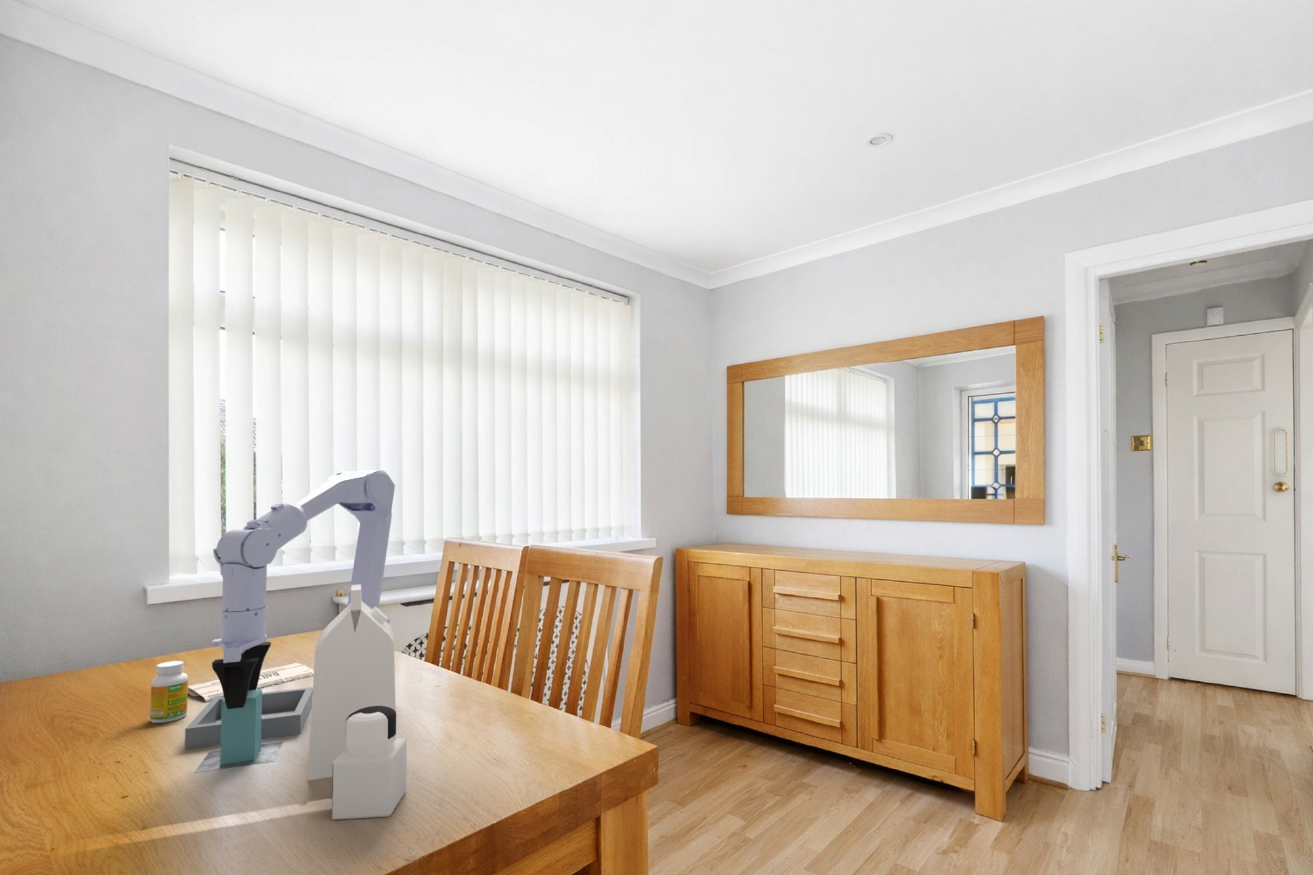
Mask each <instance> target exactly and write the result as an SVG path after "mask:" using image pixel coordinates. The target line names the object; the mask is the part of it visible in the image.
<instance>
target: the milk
mask: <svg viewBox="0 0 1313 875" xmlns="http://www.w3.org/2000/svg"><path fill="white" fill-rule="evenodd" d="M350 586H351V585H350ZM379 609H380V608H379ZM379 609H378V608H377V607H374V608H373V609H371V608H370V607H368V606H367V605H366V604H365V603H364V602H362V595H361V584H359V585H352V586H351V603H350V604H349V605H348V604H347V606H346V607H345V608H344V609H343V610H342V611H341V612H340V613H339V614H337V616H335V618H334V619H333V620H332V621H330V622H329V624H328V625H327V626H326V627H325V628H324V629H322V631H321V632H320V633H319V636H318V638H317V641H316V644H315V650H314V651H315V653H314V662H313V670H314V676H313V681H312V687H313V695H312V709H311V711H310V716H311V717H310V731H309V747H308V762H307V763H308V766H307V782H309V781H315V780H321V779H325V778H326V779H327V778H331V777H333V762H334V761H335V760H336V759H337V758H338V757H339V755H340V754H341V753H342V752H343V751H344V750H345V749H346V719H347V717H348V716H349V715H350V714H351V713H353V712H355V711H357V710H359V709H362V708H366V707H371V706H386V707H390V708H392V709H394V710H395V711H396V709H397V708H396V675H395V669H396V668H395V640H394V639H395V638H394V631H393V627H392V626H391V625H390V623H389V624H388V623H387V622H386V620H387V619H389V618H387V617H388V616H387V617H386V616H385V615H386V614H385V613H384V612H381V611H382V610H381V609H380V610H381V611H380V610H379ZM384 614H385V615H384ZM396 712H397V711H396Z"/></svg>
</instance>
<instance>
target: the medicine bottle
mask: <svg viewBox="0 0 1313 875" xmlns="http://www.w3.org/2000/svg"><path fill="white" fill-rule="evenodd" d="M331 788H332V789H331V790H332V791H331V792H332V793H331V818H332V820H333V821H335V820H336V821H337V820H354V819H371V818H387V817H388V818H389V817H391V815H392V814H393V812H394V810H395V809H396V807H397V806H398V804H399V803H400V801H401V800H402V798H403V796H404V795H405V793H406V791H407V738H405V737H401V738H400V737H399V738H398V737H397V711H395V710H394V709H392V708H390V707H386V706H371V707H366V708H362V709H359V710H357V711H355V712H353V713H351V714H350V715H349V716H348V717H347V719H346V749H345V750H344V751H343V752H342V753H341V754H340V755H339V757H338V758H337V759H336V760H335V761H334V762H333V777H332V787H331Z"/></svg>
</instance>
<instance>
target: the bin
mask: <svg viewBox="0 0 1313 875" xmlns="http://www.w3.org/2000/svg"><path fill="white" fill-rule="evenodd" d="M312 695H313V686H311V687H310V686H309V687H302V688H292V689H284V690H275V691H274V690H273V691H266V692H262V717H261V740H263V739H269V738H277V737H284V736H293V735H299V734H301V733H302V731H303V730H304V729H303V728H304V727H305V724H306V722H307V720H308V717H309V715H310V714H311V711H312ZM223 699H224V697H219V698H213V699H212V700H211V701H209V702H208V704H206V706H205V707H203V709H202V710H201V711H200V712H199V714H197V715H196V716H195V718H194V719H192V721H191V722H190V723H189V724H188V725H187V726H186V728H184V729H185V731H184V733H185V734H184V736H185V737H184V750H186V749H187V750H189V749H194V748H202V747H208V746H217V745H221V709H222V700H223ZM287 712H293V713H287ZM278 713H282V714H278ZM284 713H285V714H284ZM271 714H274V715H271ZM275 714H276V715H275ZM263 715H268V716H263ZM217 721H219V722H217Z"/></svg>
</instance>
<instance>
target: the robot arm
mask: <svg viewBox="0 0 1313 875" xmlns="http://www.w3.org/2000/svg"><path fill="white" fill-rule="evenodd" d="M395 487H396V485H395V483H394V481H393V480H392V478H391V477H390V475H389V473H387V472H386V471H384V470H382V469H376V470H361V471H348V470H340V471H339V472H338V471H337V473H335V474H334V475H331V476H328V477H327V480H326V481H325V482H324V483H323V484H321V485H320V486H318V487H317V488H315V490H313V491H311V492H310V493H309V494H308V495H306V496H305V497H303V498H302V499H301V500H299V501H297V502H296V503H294V504H292V503H287V502H285V503H275V504H273V505H272V506H270V511H269V512H267V513H265V514H264V515H262V516H260V517H259V518H257V519H251V520H249V521H247V522H246V525H245V526H244V527H243V529H240V528H239V529H232V530H229V531H227V532H226V533H224V534H223V535H222V537H220V539H219V540H218V542H217V545H216V547H215V548H213V553H212V554H213V557H214V559H215V561H216V563H218V565H219V567H220V575H221V577H222V595H221V601H222V602H221V633H220V634H221V636H220V638H215V639H213V640H212V641H211V646H212V647H220V649H222V650H223V658H221V659H219V658H218V659H214V660H213V661H212V662H211V667H212V670H213V671H214V673H215V675H216V676H217V678H218V680H220V683H221V686H222V690H223V694H224V699H225V703H226V706H227V709H234V708H243V707H244V706H245V703H246V699H247V695H248V691H250V690H256V688H257V685H258V681H259V676H260V672H261V670H262V667H263V663H264V661H265V658H266V655H267V653H268V651H269V649H271V648H270V647H271V645H272V642H271V641H267V640H268V638H267V636H268V635H267V634H266V627H267V626H266V621H267V620H266V619H267V618H266V617H267V616H266V614H267V581H268V580H267V573H268V572H267V571H268V568H267V567H268V565H269V564H271V563H272V562H273V561H274V559H275V557H276V555H277V552H278V550H280V549H281V547H282V548H283V547H284V546H285V545H286V544H288V543H290V542H291V541H292V540H294V539H296V538H297V537H298V536H300V535H302V534H303V533H304V532H305V531H306V529H307V527H308V521H310V520H312V519H313V518H315V517H318V516H319V515H320V514H322V513H324V512H326V511H327V510H329V509H330V508H333V507H334V506H336V505H339V506H340V507H341V508H343V509H345V510H346V511H347V512H348V513H350V514H351V515H352V516H354V517H355V519H356V520H357V521H358V522H359V529H358V534H357V541H356V547H355V548H356V549H355V555H354V561H353V568H352V574H351V581H350V587H349V592H348V593H349V594H348V599H347V606H348V605H349V604H350V603H351V586H352V585H359V584H361V595H362V602H364V603H365V604H366V605H367V606H368V607H370V608H371V609H373V608H374V607H377V608H378V609H379V610H380V611H381V612H382V610H381V608H380V604H381V603H380V602H381V594H382V588H383V581H384V573H385V567H386V560H387V552H388V546H389V538H390V531H391V524H392V519H393V518H392V517H393V516H392V515H393V514H392V508H393V503H394V494H395V489H396V488H395ZM384 615H385V616H386V614H385V613H384ZM386 617H387V618H388V616H386ZM386 622H387V623H388V624H389V625H390V619H389V618H388V619H387V620H386Z"/></svg>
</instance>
